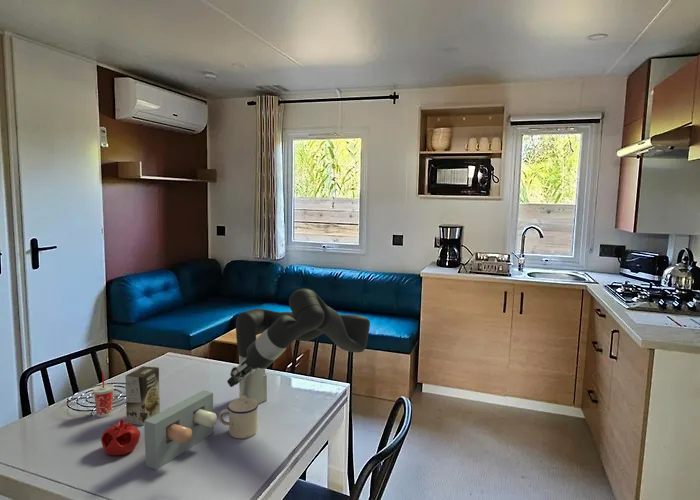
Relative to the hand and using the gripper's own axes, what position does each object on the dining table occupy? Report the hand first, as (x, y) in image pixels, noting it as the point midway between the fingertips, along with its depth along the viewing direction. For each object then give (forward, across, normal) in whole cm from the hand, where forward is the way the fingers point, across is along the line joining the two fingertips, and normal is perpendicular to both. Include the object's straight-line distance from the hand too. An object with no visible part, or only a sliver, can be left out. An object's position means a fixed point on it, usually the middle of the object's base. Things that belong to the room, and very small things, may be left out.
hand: (231, 383), depth 125 cm
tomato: (+38, -11, +6) cm, 40 cm away
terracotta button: (+20, -8, -2) cm, 22 cm away
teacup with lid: (+21, +12, -10) cm, 26 cm away
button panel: (+27, -3, -4) cm, 27 cm away
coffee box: (+45, +5, +13) cm, 47 cm away
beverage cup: (+54, +1, +23) cm, 59 cm away
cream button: (+20, +2, -2) cm, 20 cm away
